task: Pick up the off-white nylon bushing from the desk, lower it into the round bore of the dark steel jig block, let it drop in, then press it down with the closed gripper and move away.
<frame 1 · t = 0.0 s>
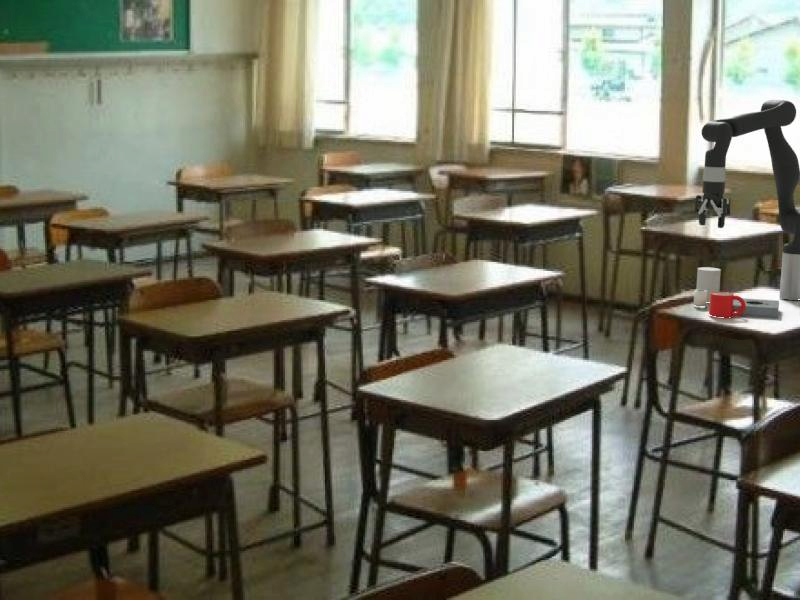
hand: (711, 226, 456), 29 cm above the table, tool pointing down, fingers open, 8 cm apart
cup: (707, 302, 476), on the table
bushing: (699, 307, 465), on the table
mug: (726, 317, 447), on the table
jig: (754, 312, 455), on the table
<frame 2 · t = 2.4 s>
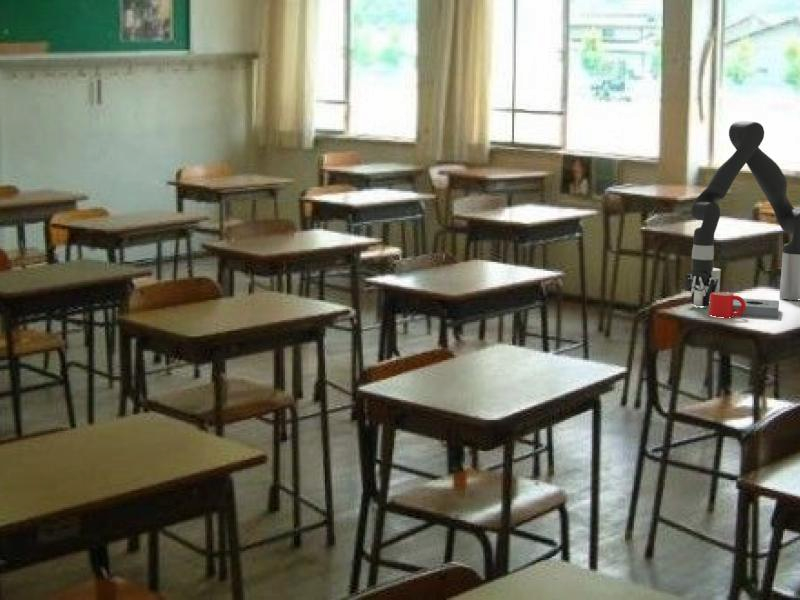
hand: (699, 304, 464), 1 cm above the table, tool pointing down, fingers closed on bushing, 4 cm apart
bushing: (699, 307, 465), on the table, touching gripper
everything else where it was.
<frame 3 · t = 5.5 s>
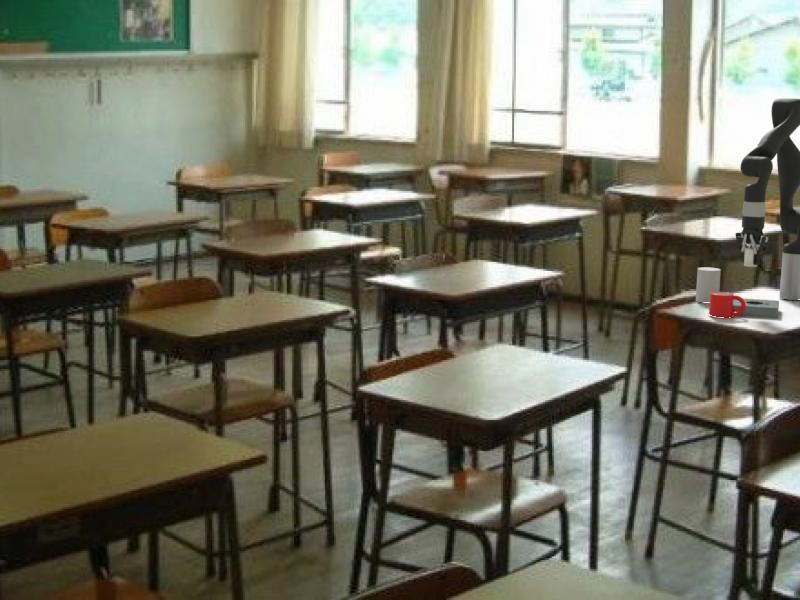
hand: (750, 263, 454), 17 cm above the table, tool pointing down, fingers closed on bushing, 4 cm apart
bushing: (750, 265, 454), point 16 cm above the table, touching gripper
everything else where it was.
when the fingers open (5 cm above the table, at t = 8.4 s): bushing drops 4 cm, on the table.
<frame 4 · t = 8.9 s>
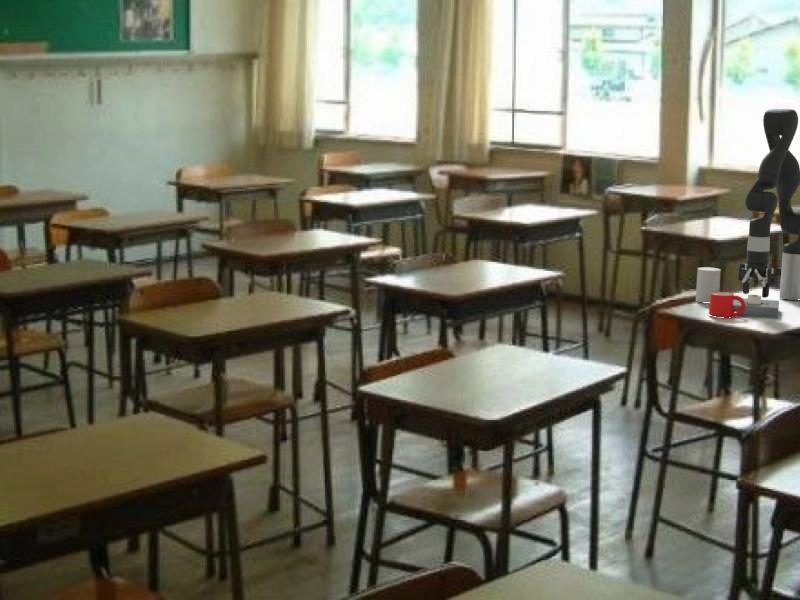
hand: (755, 295, 454), 6 cm above the table, tool pointing down, fingers open, 8 cm apart
bushing: (753, 312, 456), on the table
everything else where it was.
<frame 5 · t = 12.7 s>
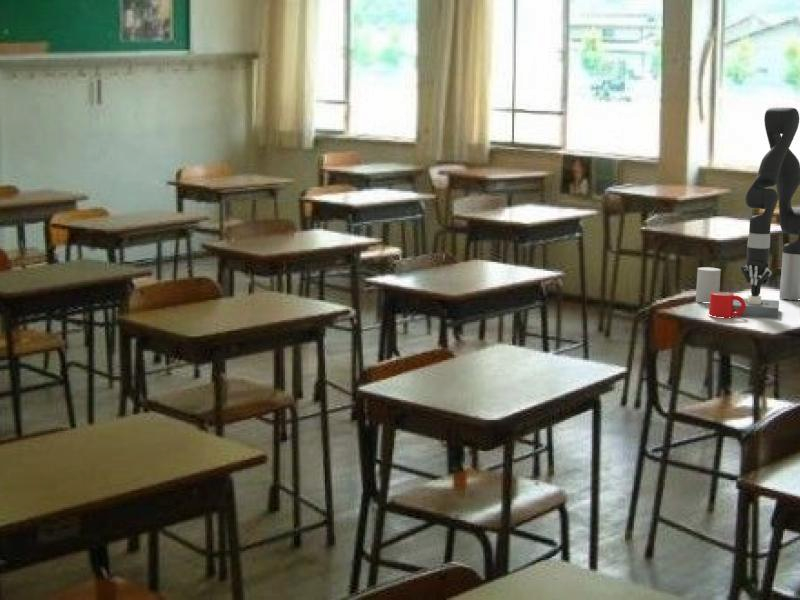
hand: (755, 295, 454), 6 cm above the table, tool pointing down, fingers closed
bushing: (753, 312, 456), on the table, touching gripper
everything else where it was.
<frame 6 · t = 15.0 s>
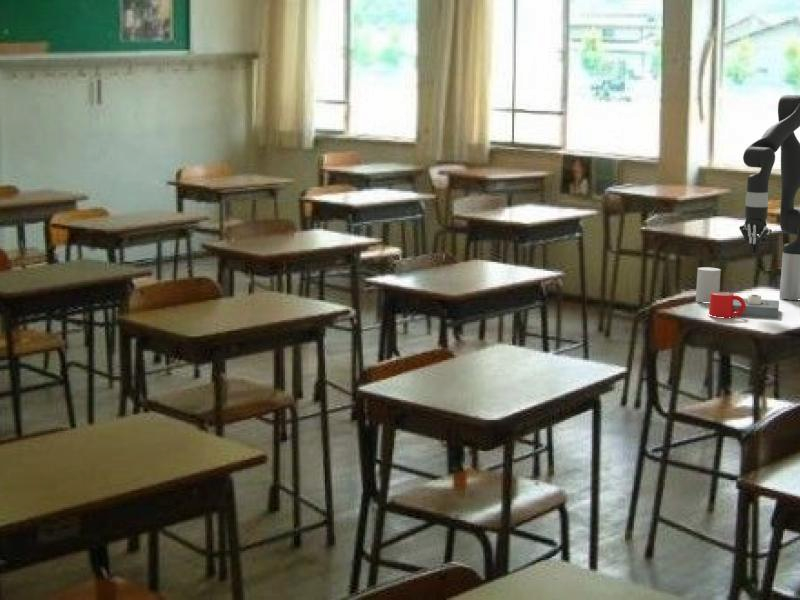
hand: (754, 254, 457), 20 cm above the table, tool pointing down, fingers closed
bushing: (753, 312, 456), on the table
everything else where it was.
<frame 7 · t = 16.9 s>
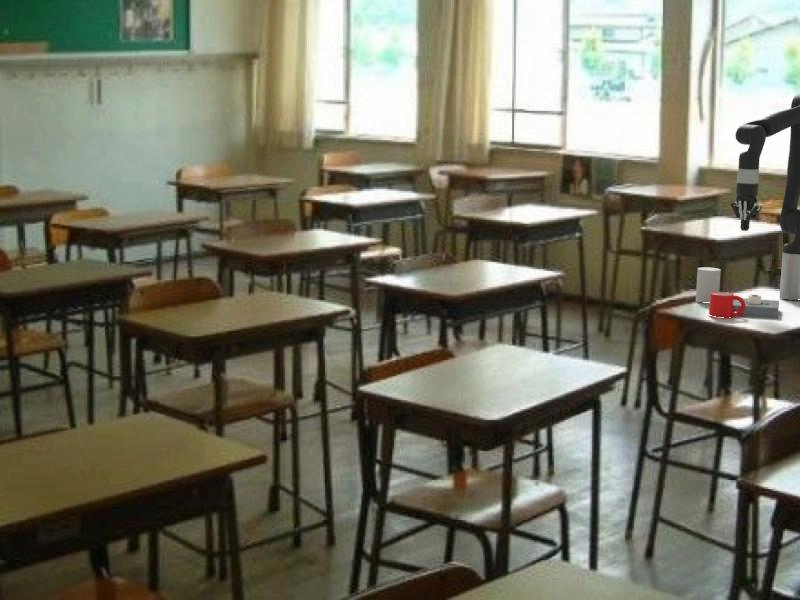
hand: (744, 230, 465), 27 cm above the table, tool pointing down, fingers closed
nothing on the table moved.
at the end: bushing 0.2 cm off-centre on the jig, point 0.0 cm above the jig's base; bushing tilted 0°; the gripper is holding nothing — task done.
